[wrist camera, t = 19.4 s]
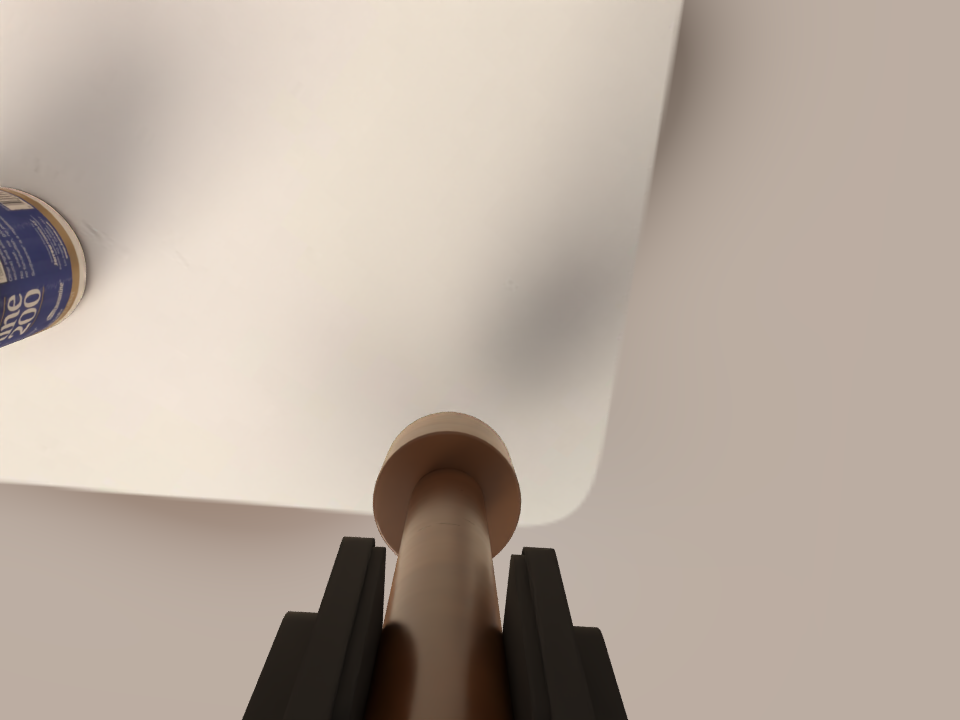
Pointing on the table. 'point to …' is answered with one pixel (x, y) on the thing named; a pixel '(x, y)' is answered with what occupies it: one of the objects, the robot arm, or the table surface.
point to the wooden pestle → (444, 572)
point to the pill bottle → (36, 266)
